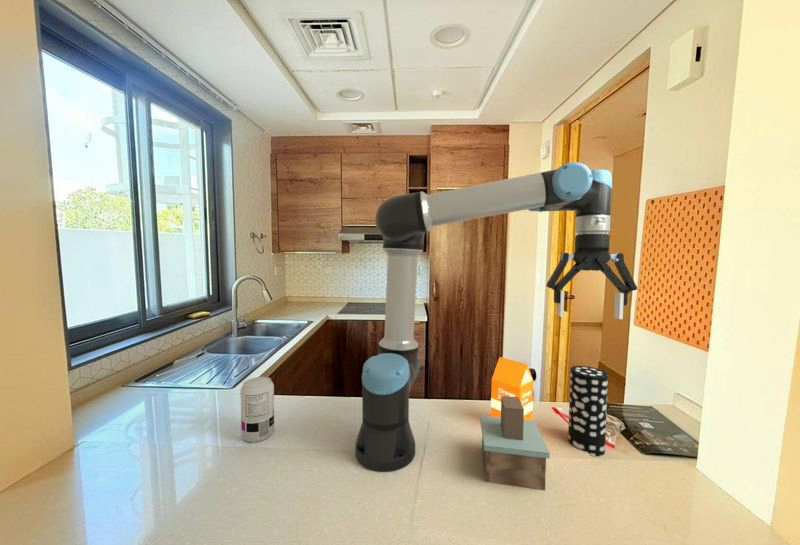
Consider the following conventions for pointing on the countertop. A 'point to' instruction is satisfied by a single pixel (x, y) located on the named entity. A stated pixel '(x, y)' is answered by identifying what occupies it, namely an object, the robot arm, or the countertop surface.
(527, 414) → the orange juice
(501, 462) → the storage box
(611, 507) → the countertop surface
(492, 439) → the lid
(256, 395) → the supplement can
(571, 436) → the white-spotted black cylinder
